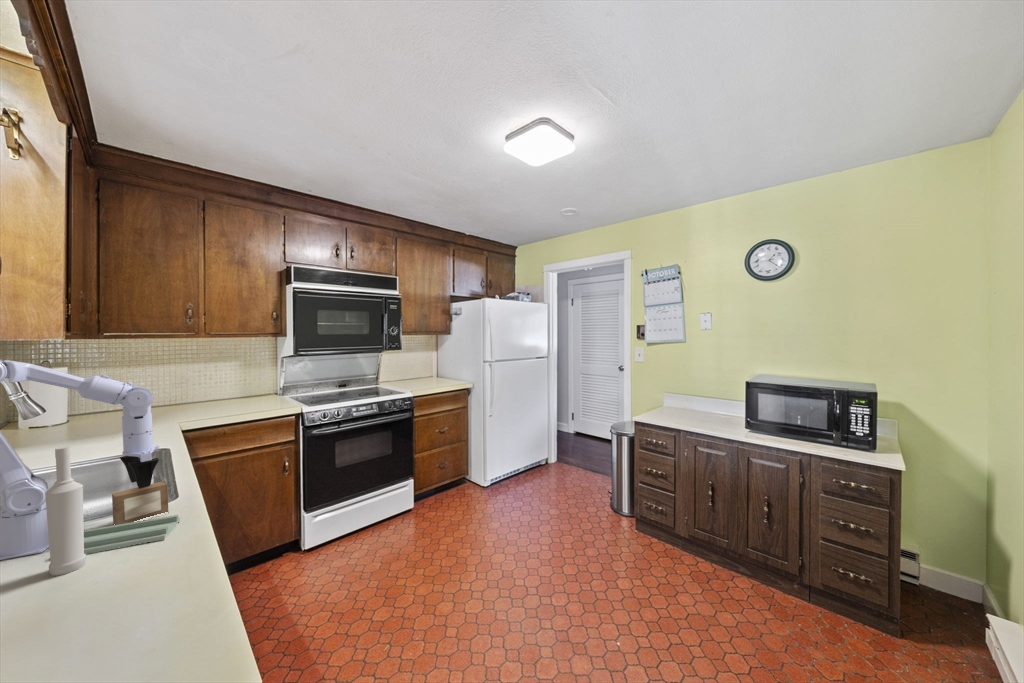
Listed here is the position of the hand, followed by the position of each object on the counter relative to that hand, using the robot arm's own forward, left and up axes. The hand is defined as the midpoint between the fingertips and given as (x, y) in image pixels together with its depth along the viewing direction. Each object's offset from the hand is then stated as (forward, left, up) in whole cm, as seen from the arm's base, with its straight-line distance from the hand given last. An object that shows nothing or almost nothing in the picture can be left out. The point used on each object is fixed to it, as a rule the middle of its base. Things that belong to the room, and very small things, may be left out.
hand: (140, 484), depth 104 cm
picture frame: (0, 0, -9) cm, 9 cm away
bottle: (-4, -23, -9) cm, 25 cm away
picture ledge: (+1, -12, -9) cm, 15 cm away
